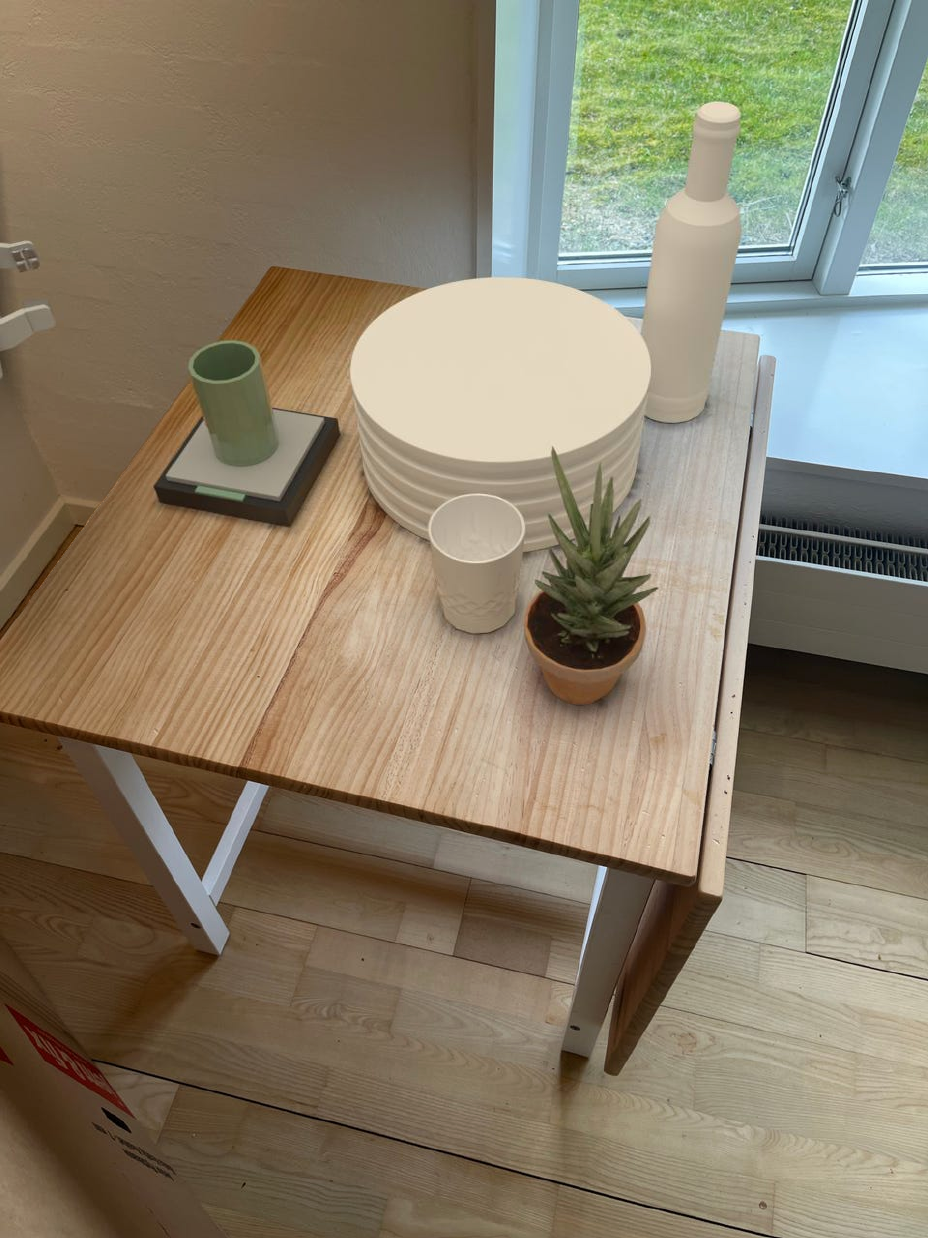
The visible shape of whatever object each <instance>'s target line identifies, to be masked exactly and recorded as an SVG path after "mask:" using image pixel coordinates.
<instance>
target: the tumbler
mask: <svg viewBox="0 0 928 1238" xmlns="http://www.w3.org/2000/svg"><path fill="white" fill-rule="evenodd" d="M188 361H189V362H188V367H187V369H188V372H189V377H190V379H191V382H192V385H193V389H194V392H195V395H196V399H197V402H198V406H199V408H200V412H201V415H203V419H204V422H205V425H206V428H207V432H208V435H209V438H210V441H211V445H212V447H213V450H214V453H215V455H216V457H217V458H218V459H219V460H220V461H222V462H223V463H225V464H228V465H231V466H238V467H244V466H251V465H255V464H258V463H261V462H263V461H265V460H266V459H268V458H269V457H271V456H272V455H273V454H274V452H275V451H276V449H277V447H278V444H279V438H278V431H277V426H276V422H275V418H274V413H273V409H272V408H273V405H272V400H271V396H270V393H269V388H268V384H267V383H268V382H267V379H266V376H265V375H266V374H265V371H264V366H263V362H262V357H261V354H260V352H259V351H258V349H257V348H256V347H255V346H254V345H252V344H250V343H249V342H246V341H241V340H236V339H235V340H234V339H230V340H229V339H228V340H219V341H216V342H212V343H209V344H206V345H205V346H203V347H201V348H199V349H198V350H196V351H195V352H194V354H193V355H191V357H190V358H189V360H188Z"/></svg>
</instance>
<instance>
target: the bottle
mask: <svg viewBox="0 0 928 1238" xmlns="http://www.w3.org/2000/svg"><path fill="white" fill-rule="evenodd" d="M741 117H742V113H741V111H740V109H739V107H737V106H736V105H734V104H733V103H730V102H726V101H710V102H706V103H704V104H703V105H701V106H700V107H698V108H697V111H696V115H695V120H694V121H693V124H692V128H691V130H692V135H693V136H692V141H691V147H690V152H689V160H688V166H687V173H686V178H685V184H684V188H682V189H681V190H679V191H678V192H676V193H675V194H673V195H672V196H671V197H670V198H668V200H666V202H665V205H664V207H663V209H662V211H661V213H660V215H659V218H658V220H657V222H656V225H655V228H654V237H653V243H652V251H651V257H650V264H649V271H648V272H649V273H648V278H647V279H648V281H647V287H646V294H645V302H644V307H643V315H642V316H643V317H642V323H641V331H640V335H641V336H642V338H643V340H644V342H645V344H646V346H647V348H648V351H649V355H650V360H651V378H650V385H649V391H648V397H647V404H646V411H645V415H644V417H647V418H649V419H650V420H654V421H657V422H661V423H667V424H668V423H669V424H670V423H671V424H677V423H683V422H688V421H690V420H692V419H695V418H697V417H699V415H700V414H701V413H702V412H703V411H704V409H705V405H706V402H707V399H708V396H709V392H710V388H711V383H712V373H713V369H714V365H715V360H716V354H717V351H718V350H717V349H718V345H719V342H720V341H719V340H720V336H721V331H722V327H723V326H722V325H723V321H724V318H725V312H726V308H727V303H728V299H729V298H728V297H729V293H730V289H731V285H732V284H731V283H732V280H733V275H734V272H735V271H734V270H735V266H736V260H737V256H738V251H739V246H740V243H741V237H742V233H743V229H742V228H743V227H742V219H741V212H740V208H739V206H738V204H737V202H736V201H735V200H734V198H733V197H732V196H731V195H730V194H729V193H728V192H727V190H728V189H727V188H728V184H729V179H730V173H731V170H732V169H731V168H732V163H733V158H734V153H735V149H736V142H737V139H738V137H739V135H740V131H741V123H740V121H741Z"/></svg>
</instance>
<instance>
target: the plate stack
mask: <svg viewBox="0 0 928 1238" xmlns="http://www.w3.org/2000/svg"><path fill="white" fill-rule="evenodd" d="M349 377H350V378H349V379H350V385H351V391H352V398H353V405H354V413H355V417H356V426H357V433H358V439H359V447H360V453H361V454H360V455H361V460H362V467H363V468H362V469H363V473H364V478H365V481H366V482H365V483H366V485H367V487H368V489H369V492H370V493H371V495H372V497H373V498H374V500H375V501H376V503H377V504H378V506H379V507H380V508H381V509H382V510H383V511H384V513H386V514H387V515H388V516H389V517H390V518H391V519H392V520H393V521H395V522H396V523H397V524H398V525H400V526H401V527H403V528H404V529H405V530H407V531H409V532H411V533H413V534H414V535H416V536H419V537H420V538H422V539H424V540H427V541H429V542H430V540H429V533H428V525H429V521H430V518H431V516H432V515H433V513H434V512H435V511H436V509H437V508H438V507H440V506H441V505H442V504H443V503H445V502H446V501H448V500H450V499H452V498H455V497H458V496H461V495H466V494H475V493H480V494H489V495H494V496H497V497H500V498H502V499H505V500H506V501H508V502H510V503H511V504H512V505H514V506H515V507H516V508H517V509H518V510H519V512H520V513H521V515H522V517H523V519H524V523H525V535H524V545H523V553H528V552H534V551H540V550H543V549H548V548H547V547H549V546H550V548H552V547H555V546H560V545H559V543H558V541H557V539H556V537H555V535H554V533H553V530H552V527H551V524H550V522H549V518H548V513H549V514H550V515H551V517H552V518H553V519H554V521H555V522H556V524H557V525H558V526H559V528H560V529H561V530H562V532H563V533H564V534H565V535H566V536H567V538H568V539H569V540H570V541H572V540H574V539H576V537H575V535H574V532H573V529H572V526H571V523H570V520H569V517H568V515H567V512H566V510H565V507H564V503H563V499H562V496H561V492H560V489H559V485H558V482H557V478H556V474H555V469H554V464H553V460H552V455H551V451H552V446H553V447H554V450H555V451H556V454H557V456H558V459H559V462H560V464H561V467H562V469H563V472H564V474H565V476H566V479H567V481H568V484H569V486H570V489H571V491H572V494H573V496H574V499H575V501H576V504H577V507H578V509H579V512H580V514H581V516H582V518H583V520H584V522H585V524H586V527H587V530H589V518H590V509H591V504H593V498H594V491H595V481H596V475H597V471H598V466H599V463H600V462H601V470H602V492H601V495H602V496H601V506H602V502H603V499H604V496H605V492H606V489H607V486H608V483H609V480H610V477H611V476H613V489H614V498H613V513H615V512H616V511H617V510H618V508H619V507H620V506H621V505H622V504H623V502H624V501H625V499H626V498H627V496H628V494H629V493H630V491H631V489H632V486H633V484H634V481H635V478H636V473H637V468H638V462H639V454H640V449H641V441H642V436H643V430H644V422H645V411H646V404H647V397H648V391H649V385H650V378H651V360H650V355H649V351H648V348H647V346H646V344H645V342H644V340H643V338H642V336H641V332H640V331H639V330H638V329H637V327H636V326H635V325H634V324H633V323H632V322H631V321H630V320H629V319H628V318H627V317H626V316H625V315H624V314H622V312H620V311H619V310H617V309H616V308H614V307H613V306H612V305H611V304H609V303H607V302H605V301H604V300H602V299H600V298H598V297H596V296H594V295H592V294H590V293H587V292H585V291H582V290H580V289H577V288H574V287H571V286H568V285H565V284H560V283H557V282H551V281H548V280H541V279H536V278H527V277H526V278H525V277H512V276H511V277H510V276H493V277H491V276H490V277H480V278H470V279H464V280H457V281H452V282H448V283H443V284H440V285H436V286H434V287H430V288H427V289H425V290H422V291H420V292H416V293H414V294H412V295H410V296H408V297H406V298H404V299H402V300H401V301H399V302H397V303H395V304H393V305H391V307H389V308H387V309H386V310H385V311H383V312H382V313H381V314H380V315H378V316H377V317H376V318H375V319H374V320H373V321H372V322H371V323H370V324H369V325H368V326H367V327H366V329H365V330H364V331H363V332H362V334H361V336H360V337H359V338H358V340H357V342H356V344H355V346H354V349H353V351H352V355H351V359H350V363H349Z"/></svg>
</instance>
